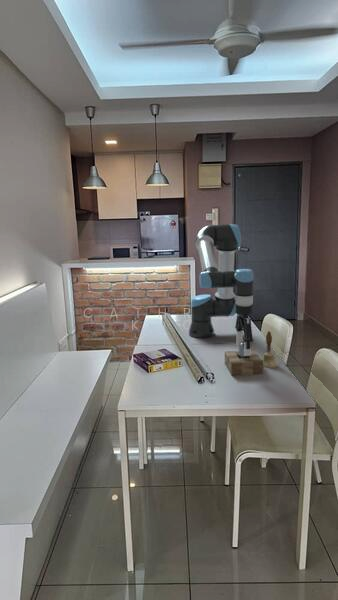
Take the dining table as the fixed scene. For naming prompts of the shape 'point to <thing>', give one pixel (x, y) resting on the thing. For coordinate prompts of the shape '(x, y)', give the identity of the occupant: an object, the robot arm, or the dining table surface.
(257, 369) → the socket
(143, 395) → the dining table surface
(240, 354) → the peg
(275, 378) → the dining table surface
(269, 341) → the hand bell
